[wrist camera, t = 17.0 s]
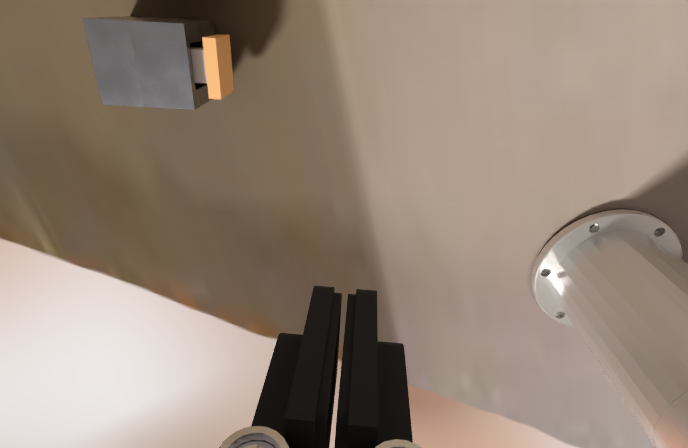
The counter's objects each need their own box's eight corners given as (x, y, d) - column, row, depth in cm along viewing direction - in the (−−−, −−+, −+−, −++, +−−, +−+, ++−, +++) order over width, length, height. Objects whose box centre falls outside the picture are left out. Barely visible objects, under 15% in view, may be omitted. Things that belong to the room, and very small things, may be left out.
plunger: (229, 34, 27) (215, 37, 24) (234, 90, 29) (221, 99, 26) (157, 31, 27) (135, 33, 24) (166, 87, 29) (147, 95, 26)
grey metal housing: (213, 20, 29) (183, 23, 24) (220, 93, 31) (194, 109, 26) (129, 16, 29) (82, 18, 24) (143, 89, 31) (102, 104, 26)
